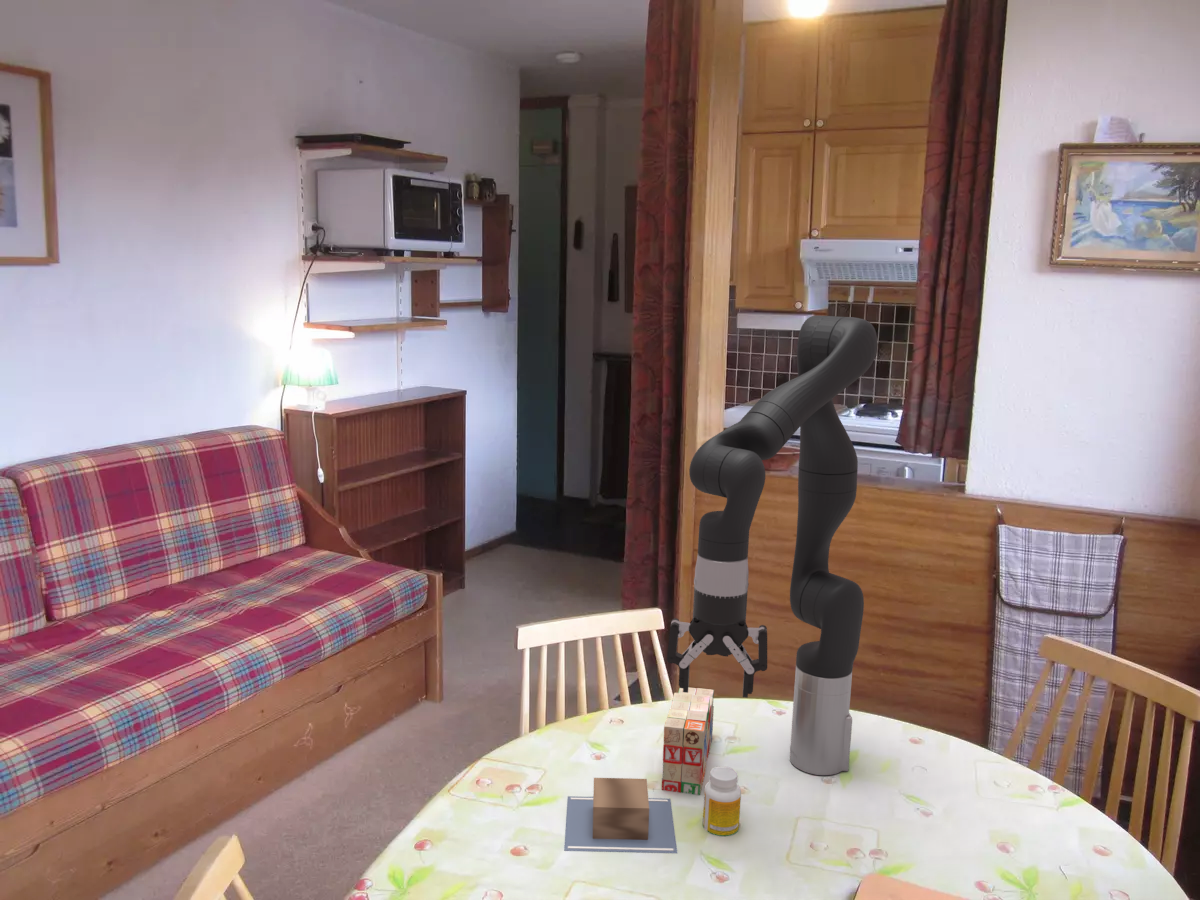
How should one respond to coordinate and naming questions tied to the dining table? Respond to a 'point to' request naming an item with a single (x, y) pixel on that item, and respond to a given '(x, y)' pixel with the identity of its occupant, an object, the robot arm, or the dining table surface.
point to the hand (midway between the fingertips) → (715, 692)
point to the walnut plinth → (620, 809)
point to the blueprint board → (582, 839)
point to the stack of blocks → (687, 740)
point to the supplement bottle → (722, 802)
